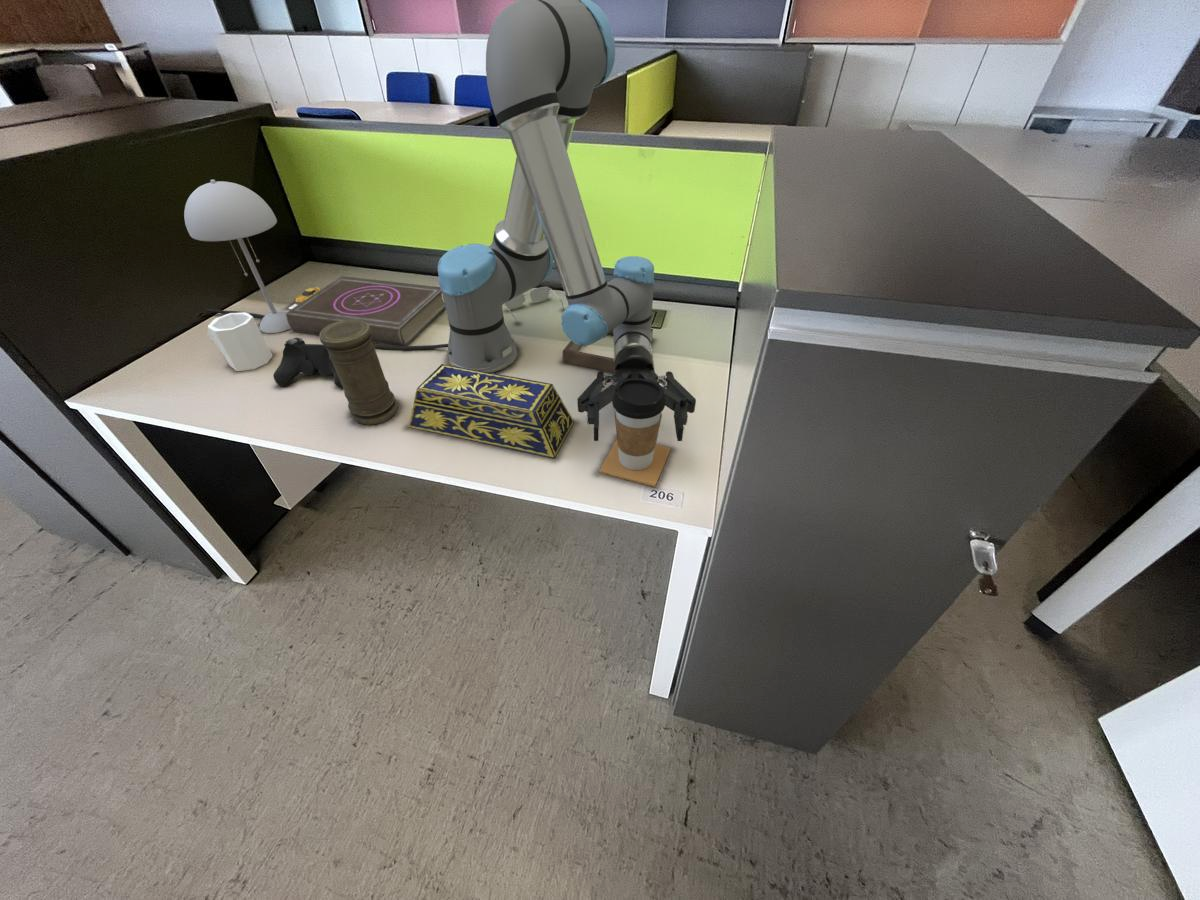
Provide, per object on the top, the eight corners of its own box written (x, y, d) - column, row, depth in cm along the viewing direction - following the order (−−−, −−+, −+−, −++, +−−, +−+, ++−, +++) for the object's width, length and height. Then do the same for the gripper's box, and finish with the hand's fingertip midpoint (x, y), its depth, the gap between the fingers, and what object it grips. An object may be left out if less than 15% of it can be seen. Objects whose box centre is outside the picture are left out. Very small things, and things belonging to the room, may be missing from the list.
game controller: (364, 384, 115) (360, 338, 112) (347, 388, 108) (342, 339, 105) (292, 382, 115) (287, 336, 113) (272, 386, 109) (265, 337, 106)
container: (384, 427, 99) (353, 345, 87) (342, 422, 101) (306, 340, 89) (406, 400, 106) (380, 319, 94) (366, 395, 107) (335, 315, 95)
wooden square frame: (563, 362, 116) (562, 350, 114) (589, 328, 127) (589, 317, 125) (631, 376, 111) (631, 364, 109) (652, 340, 123) (653, 328, 121)
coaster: (599, 473, 90) (599, 470, 89) (618, 437, 97) (618, 435, 96) (654, 487, 87) (655, 485, 87) (670, 449, 94) (670, 447, 94)
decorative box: (554, 458, 92) (551, 419, 86) (408, 427, 99) (396, 388, 93) (575, 422, 100) (573, 383, 94) (438, 395, 107) (428, 357, 101)
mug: (280, 353, 120) (261, 314, 113) (252, 373, 113) (230, 333, 107) (237, 346, 122) (216, 308, 115) (208, 366, 116) (183, 326, 109)
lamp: (279, 346, 122) (207, 195, 100) (225, 334, 126) (144, 187, 104) (331, 313, 134) (276, 172, 112) (279, 303, 138) (217, 166, 116)
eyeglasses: (551, 298, 139) (550, 284, 136) (565, 312, 134) (565, 298, 132) (503, 311, 134) (501, 297, 131) (516, 327, 129) (515, 312, 126)
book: (448, 305, 137) (444, 287, 133) (403, 348, 121) (398, 329, 117) (347, 293, 143) (341, 275, 139) (292, 332, 127) (283, 314, 123)
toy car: (292, 305, 137) (289, 297, 135) (314, 291, 143) (311, 283, 141) (305, 307, 136) (302, 299, 134) (327, 293, 142) (323, 285, 140)
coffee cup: (609, 444, 94) (609, 375, 84) (655, 442, 95) (661, 372, 85) (614, 477, 88) (615, 407, 78) (663, 474, 89) (670, 403, 78)
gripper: (696, 378, 101) (712, 452, 86) (569, 378, 102) (562, 451, 86) (701, 345, 96) (719, 416, 81) (567, 345, 97) (559, 416, 81)
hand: (638, 434), depth 83 cm, fingers open, 13 cm apart
